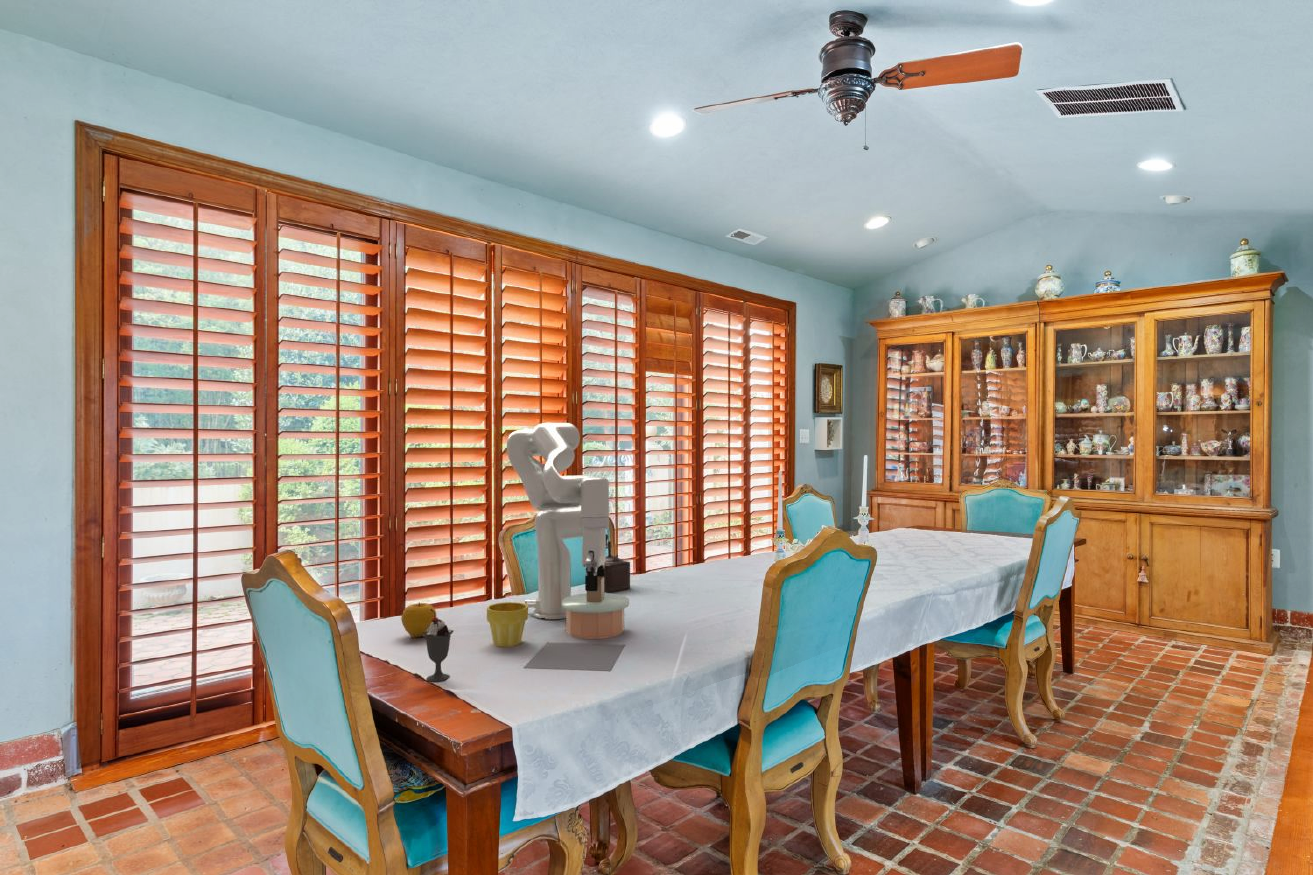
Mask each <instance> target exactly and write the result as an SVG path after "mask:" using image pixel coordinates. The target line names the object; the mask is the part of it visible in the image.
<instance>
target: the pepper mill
mask: <svg viewBox="0 0 1313 875" xmlns="http://www.w3.org/2000/svg"><path fill="white" fill-rule="evenodd" d="M612 547H613V546H612V542H611V541H610V540H609V534H607V533H606V550H607V552H608V553H607V556H606V559H605V562H604V565H605V567H604V568H602V569H605V583H604V593H611V594H612V593H615V592H620V591H626V590H630V589H631V562H630V561H629V560H628V561H627V560H624V559H622V558H619V555H618V554H616V555H612Z"/></svg>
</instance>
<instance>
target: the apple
mask: <svg viewBox="0 0 1313 875" xmlns="http://www.w3.org/2000/svg"><path fill="white" fill-rule="evenodd" d="M430 609H433V611H434V613H435V617H437V611H436V609H435V607H433V605H432V604H431V603H428V602H427V603H426V602H418V603H413V604H409V605H407V606H406V607H405V608H404V610H403V612H402V614H401V617H400V619H401V623H402V626H403V627H404V630H405V631H406V632H407V633H408V635H410V637H411V638H420V637H424V636H423V635H422V632H424V631H427V629H428V626H429V625H430V624H431V622H432V621H431V620H432V619H433V618H434V613H433V612H432V611H431V610H430Z"/></svg>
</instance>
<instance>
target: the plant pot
mask: <svg viewBox="0 0 1313 875" xmlns="http://www.w3.org/2000/svg"><path fill="white" fill-rule="evenodd" d="M528 618H529V608H528V605H526V604H525V602H524V603H523V602H517V601H513V602H512V601H504V602H496V603H491V604H490V605H488V606H487V607H486V621H487V622H488V623H489V628H490V632H491V637H492V638H491V639H492V642H493V645H494V646H496V647H503V648H504V647H505V648H506V647H514V646H518V645H519V644H521V642H522V638H523V633H524V629H525V625H526V621H527V620H528Z"/></svg>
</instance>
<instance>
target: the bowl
mask: <svg viewBox="0 0 1313 875" xmlns="http://www.w3.org/2000/svg"><path fill="white" fill-rule="evenodd" d="M565 619H566V623H565V624H566V627H565V628H566V632H567V634H568V635H569V636H571V637H573V638H578V639H585V640H586V639H587V640H595V639H596V640H598V639H606V638H612V637H613V638H614V637H616V636H619V635H621V634H622V633H624V629H625V608H624V609H622V610H618V611H613V612H605V613H579V612H572V611H568V610H566V618H565Z"/></svg>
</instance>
